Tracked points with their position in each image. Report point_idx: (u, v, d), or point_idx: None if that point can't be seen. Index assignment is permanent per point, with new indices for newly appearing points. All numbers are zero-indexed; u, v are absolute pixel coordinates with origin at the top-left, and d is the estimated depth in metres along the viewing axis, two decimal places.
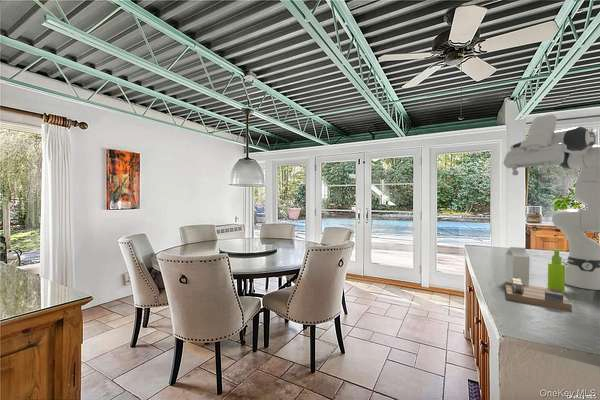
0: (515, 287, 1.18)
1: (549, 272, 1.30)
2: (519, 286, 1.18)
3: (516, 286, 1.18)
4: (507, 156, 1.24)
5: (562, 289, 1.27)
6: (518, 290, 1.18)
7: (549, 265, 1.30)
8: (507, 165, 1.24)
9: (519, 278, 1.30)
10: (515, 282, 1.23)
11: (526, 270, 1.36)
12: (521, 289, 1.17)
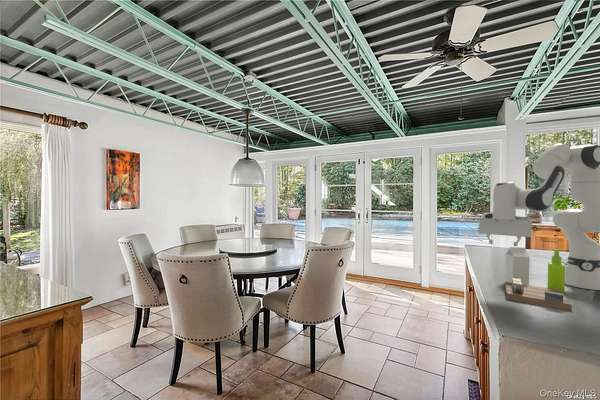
0: (515, 287, 1.18)
1: (549, 272, 1.30)
2: (519, 286, 1.18)
3: (516, 286, 1.18)
4: (481, 225, 1.34)
5: (562, 289, 1.27)
6: (518, 290, 1.18)
7: (549, 265, 1.30)
8: (482, 233, 1.34)
9: (519, 278, 1.30)
10: (515, 282, 1.23)
11: (526, 270, 1.36)
12: (521, 289, 1.17)
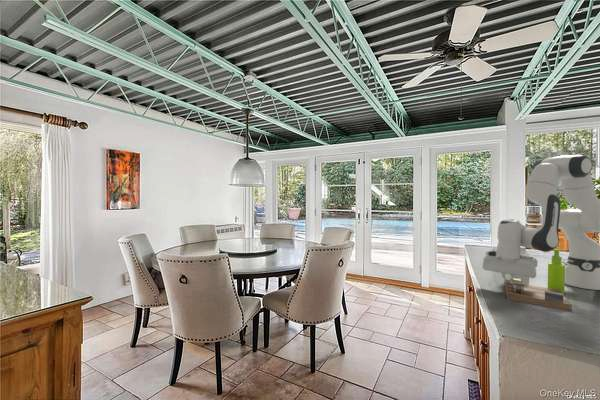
0: (515, 287, 1.18)
1: (549, 272, 1.30)
2: (519, 286, 1.18)
3: (516, 286, 1.18)
4: (485, 262, 1.34)
5: (562, 289, 1.27)
6: (518, 290, 1.18)
7: (549, 265, 1.30)
8: None
9: (519, 278, 1.30)
10: (515, 282, 1.23)
11: None
12: (521, 289, 1.17)
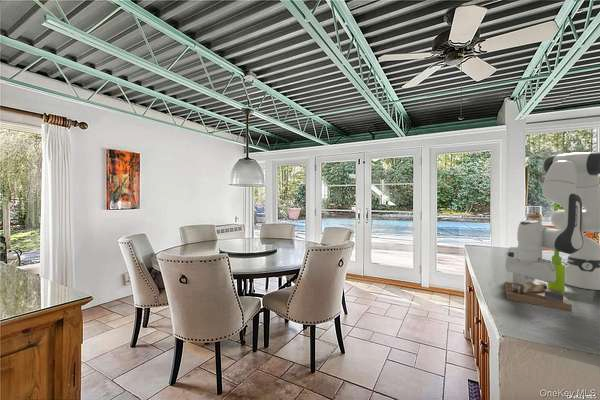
0: (513, 286, 1.20)
1: None
2: (515, 285, 1.18)
3: (513, 285, 1.19)
4: (506, 263, 1.33)
5: (562, 289, 1.27)
6: (515, 289, 1.19)
7: None
8: (509, 271, 1.32)
9: (544, 283, 1.22)
10: (522, 283, 1.21)
11: None
12: (517, 289, 1.18)
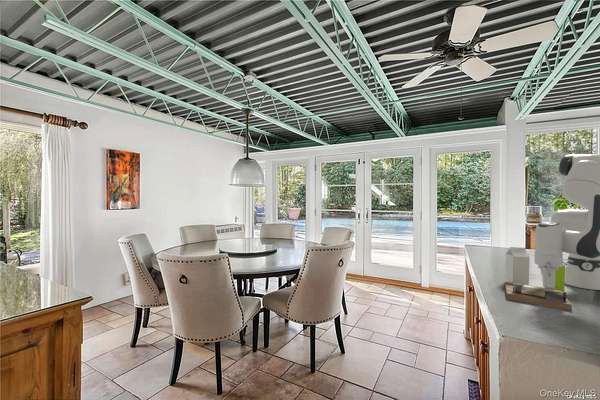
0: None
1: None
2: (513, 284, 1.20)
3: None
4: None
5: (562, 289, 1.27)
6: (513, 288, 1.20)
7: None
8: None
9: (561, 292, 1.10)
10: (529, 286, 1.18)
11: (526, 270, 1.36)
12: (513, 287, 1.19)
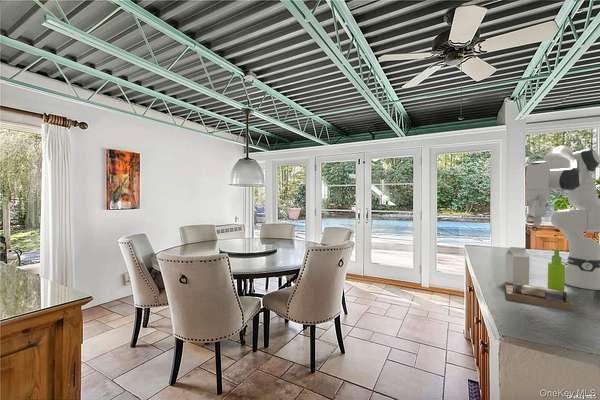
0: None
1: (549, 272, 1.30)
2: (513, 284, 1.20)
3: None
4: None
5: (562, 289, 1.27)
6: (513, 288, 1.20)
7: (549, 265, 1.30)
8: None
9: (561, 292, 1.10)
10: (529, 286, 1.18)
11: (526, 270, 1.36)
12: (513, 287, 1.19)
